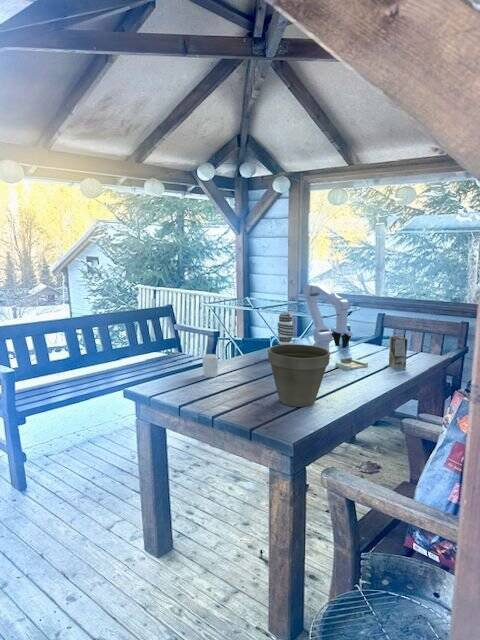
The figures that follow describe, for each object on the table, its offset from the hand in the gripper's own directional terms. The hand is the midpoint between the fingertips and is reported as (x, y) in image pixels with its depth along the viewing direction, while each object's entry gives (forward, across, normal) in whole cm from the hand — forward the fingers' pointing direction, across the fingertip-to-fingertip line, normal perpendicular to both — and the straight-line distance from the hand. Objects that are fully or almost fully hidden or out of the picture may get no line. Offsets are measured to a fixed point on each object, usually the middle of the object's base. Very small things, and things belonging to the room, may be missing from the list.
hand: (340, 346), depth 247 cm
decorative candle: (+10, -32, -14) cm, 36 cm away
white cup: (+10, -16, -71) cm, 74 cm away
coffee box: (+10, +22, +20) cm, 31 cm away
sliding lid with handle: (+9, +8, 0) cm, 12 cm away
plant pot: (+10, +36, -58) cm, 69 cm away
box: (+9, +8, 0) cm, 13 cm away
